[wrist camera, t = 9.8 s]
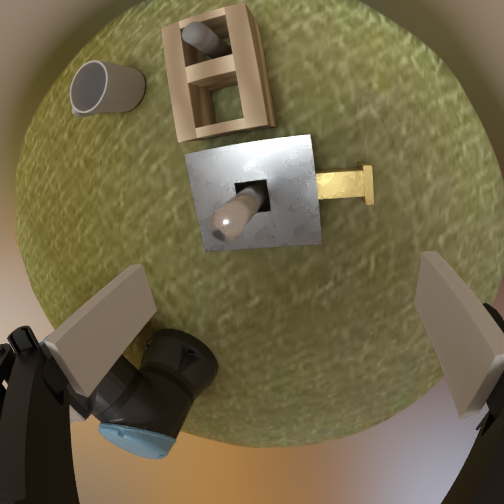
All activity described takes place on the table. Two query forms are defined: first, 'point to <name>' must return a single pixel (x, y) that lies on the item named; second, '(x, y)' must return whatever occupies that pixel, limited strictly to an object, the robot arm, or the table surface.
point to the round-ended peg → (238, 211)
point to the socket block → (279, 188)
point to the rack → (217, 72)
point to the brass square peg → (346, 183)
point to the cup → (105, 88)
